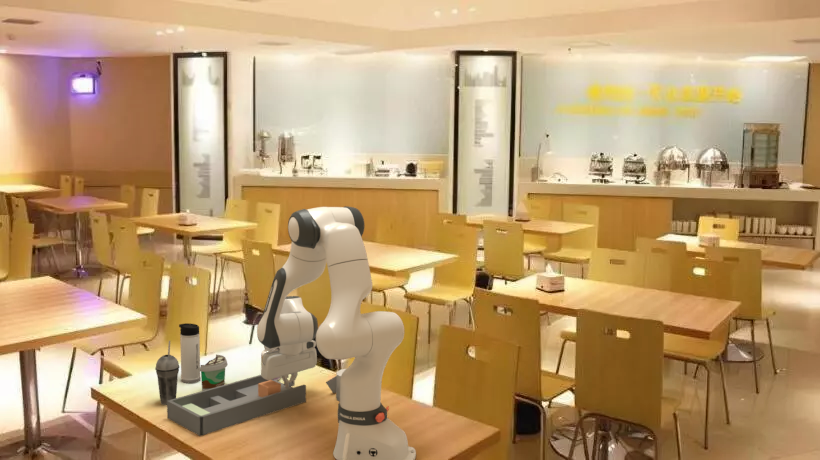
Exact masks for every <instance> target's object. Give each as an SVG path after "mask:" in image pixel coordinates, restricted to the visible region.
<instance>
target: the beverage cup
mask: <svg viewBox="0 0 820 460" xmlns="http://www.w3.org/2000/svg"><path fill="white" fill-rule="evenodd" d="M167 347H168V349H167V354H163V355H162V356H160V357H159V358H158V360H157V361H156V363H155V368H154V370H155V373H156V376H157V384H158V393H159V401H160V405H162V406H167V401H168V400H172V399H175V398H177V393H178V391H177V389H178V376H179V371H180V365H179V361H178V358H176V357H175V356H174V355H171V354H170V353H171V340H168V346H167Z"/></svg>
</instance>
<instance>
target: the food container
mask: <svg viewBox="0 0 820 460" xmlns="http://www.w3.org/2000/svg"><path fill="white" fill-rule="evenodd" d="M226 367H228V360H227V358H226V356H224V355H221V354H215V358H212V359H210V360H208V362H206V363H205V364H200V380H201V389H202V390H201V391H204V390H208V389H211V388H215V387H218V386H222V385H225V380H226V378H225V377H226Z"/></svg>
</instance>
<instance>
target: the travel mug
mask: <svg viewBox="0 0 820 460" xmlns="http://www.w3.org/2000/svg"><path fill="white" fill-rule="evenodd" d="M178 327H179V328H180V332H179V333H180V334H179V335H180V336H179V337H180V375H181V376H180V377H181V378H180V379H181V382H182V383H183V384H195V383H198V382H200V381H201V371H200V367H201V352H200V351H201V350H200V347H201V346H200V344H201V343H200V342H201V341H200V337H201V336H200V326H199V325H198V324H195V323H188V322H187V323H180V324H178Z"/></svg>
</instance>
